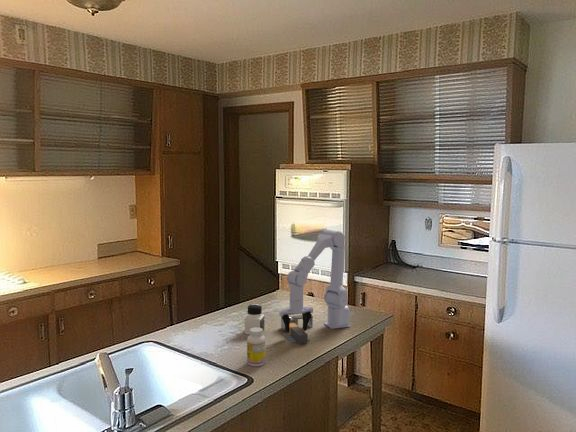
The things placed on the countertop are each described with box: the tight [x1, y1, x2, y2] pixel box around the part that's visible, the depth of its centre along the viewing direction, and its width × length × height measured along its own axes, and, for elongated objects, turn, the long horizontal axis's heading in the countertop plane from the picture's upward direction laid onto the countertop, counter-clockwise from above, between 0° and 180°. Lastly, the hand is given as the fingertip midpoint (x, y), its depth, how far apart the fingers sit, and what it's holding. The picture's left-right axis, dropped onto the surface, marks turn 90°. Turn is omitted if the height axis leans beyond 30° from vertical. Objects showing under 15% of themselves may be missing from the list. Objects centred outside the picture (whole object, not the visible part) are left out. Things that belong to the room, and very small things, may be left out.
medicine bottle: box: [243, 303, 265, 336], centre depth 209 cm, size 7×7×12 cm
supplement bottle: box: [246, 327, 266, 367], centre depth 177 cm, size 7×7×13 cm
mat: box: [282, 332, 310, 344], centre depth 204 cm, size 8×10×1 cm
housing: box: [280, 314, 314, 333], centre depth 215 cm, size 14×5×6 cm, turn 111°
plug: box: [288, 323, 309, 345], centre depth 203 cm, size 4×15×4 cm, turn 21°
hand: (296, 330), depth 203 cm, fingers open, 7 cm apart
